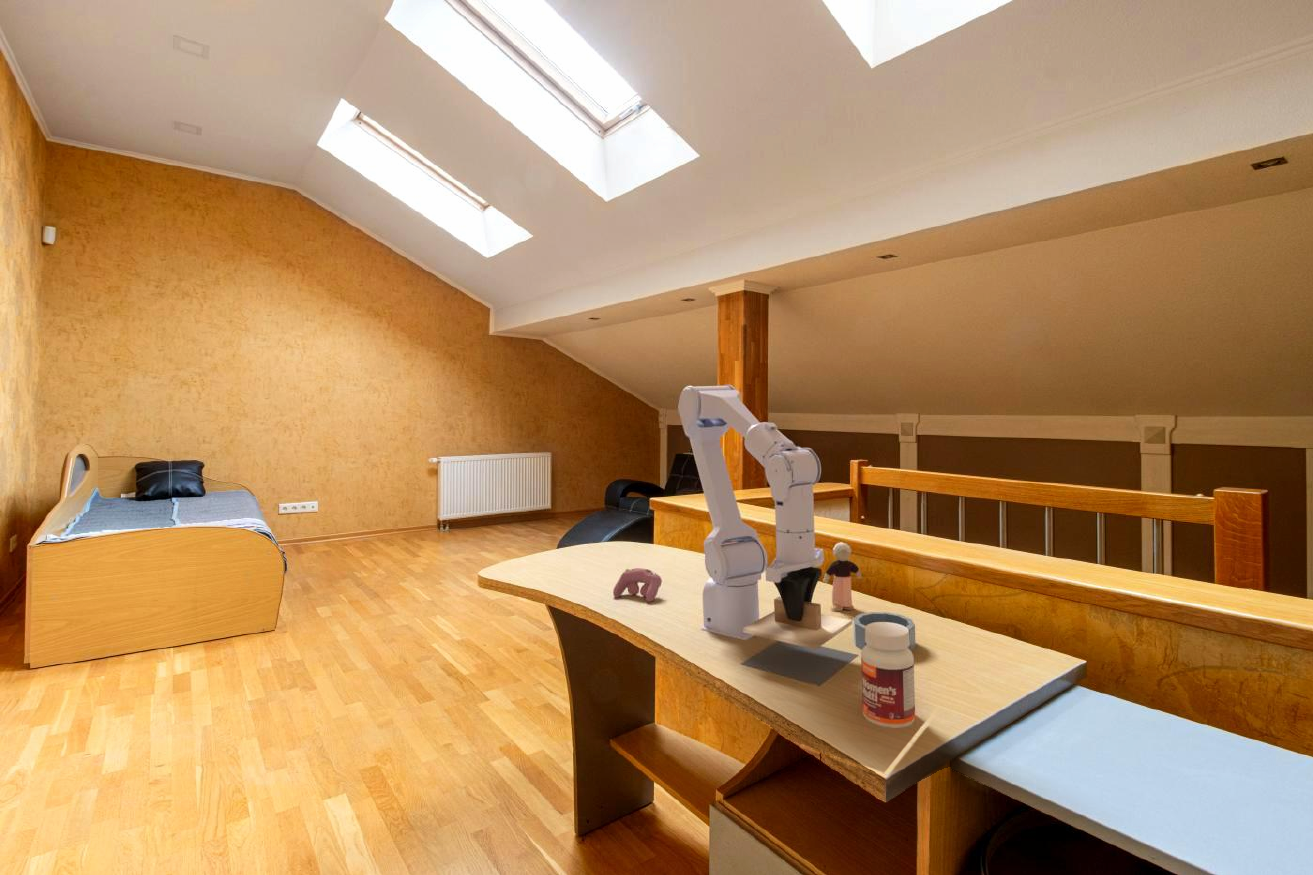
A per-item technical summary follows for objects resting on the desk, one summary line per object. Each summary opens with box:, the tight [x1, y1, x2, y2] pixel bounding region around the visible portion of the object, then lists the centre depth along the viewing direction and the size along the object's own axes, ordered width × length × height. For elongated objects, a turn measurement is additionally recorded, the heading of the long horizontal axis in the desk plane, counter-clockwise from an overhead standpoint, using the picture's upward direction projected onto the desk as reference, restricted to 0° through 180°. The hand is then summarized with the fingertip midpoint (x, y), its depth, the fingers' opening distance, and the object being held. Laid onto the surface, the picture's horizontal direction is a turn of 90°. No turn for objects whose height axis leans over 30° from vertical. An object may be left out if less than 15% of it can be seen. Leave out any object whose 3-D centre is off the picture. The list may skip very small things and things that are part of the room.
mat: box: [740, 640, 859, 687], centre depth 95 cm, size 13×13×1 cm
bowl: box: [852, 611, 917, 653], centre depth 100 cm, size 9×9×4 cm
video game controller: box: [612, 567, 663, 603], centre depth 133 cm, size 10×5×7 cm, turn 58°
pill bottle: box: [860, 622, 916, 729], centre depth 77 cm, size 6×6×11 cm
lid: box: [743, 596, 853, 649], centre depth 95 cm, size 12×12×4 cm
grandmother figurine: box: [822, 542, 862, 612], centre depth 119 cm, size 8×4×13 cm, turn 112°
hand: (797, 617), depth 95 cm, fingers closed on lid, 2 cm apart
